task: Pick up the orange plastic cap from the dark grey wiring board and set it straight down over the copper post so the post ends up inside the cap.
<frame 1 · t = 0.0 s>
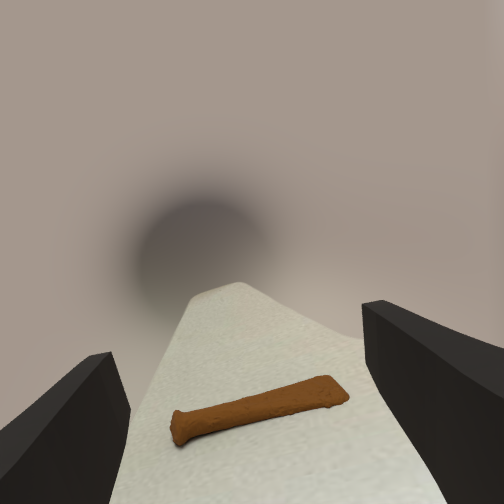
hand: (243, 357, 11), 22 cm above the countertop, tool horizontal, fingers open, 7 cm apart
primitive tool: (264, 414, 42), on the countertop
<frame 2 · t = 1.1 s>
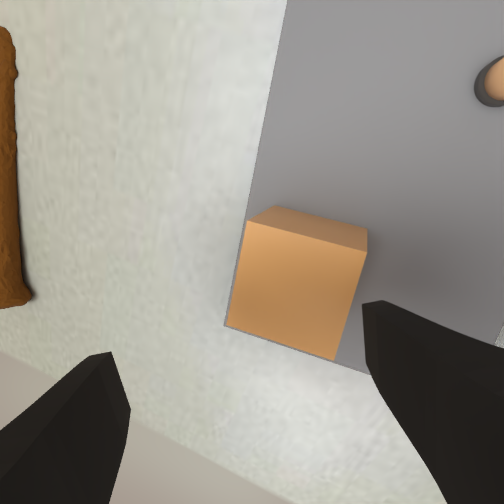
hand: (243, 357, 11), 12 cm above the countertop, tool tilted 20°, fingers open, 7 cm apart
primitive tool: (5, 172, 28), on the countertop
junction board: (390, 180, 20), on the countertop
wire cap: (308, 260, 21), point 1 cm above the countertop, touching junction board
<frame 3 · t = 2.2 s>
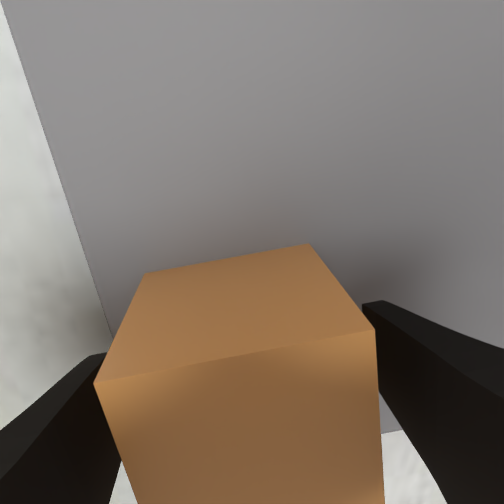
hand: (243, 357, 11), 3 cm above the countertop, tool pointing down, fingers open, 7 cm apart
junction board: (304, 152, 12), on the countertop
wire cap: (241, 329, 12), point 1 cm above the countertop, touching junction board
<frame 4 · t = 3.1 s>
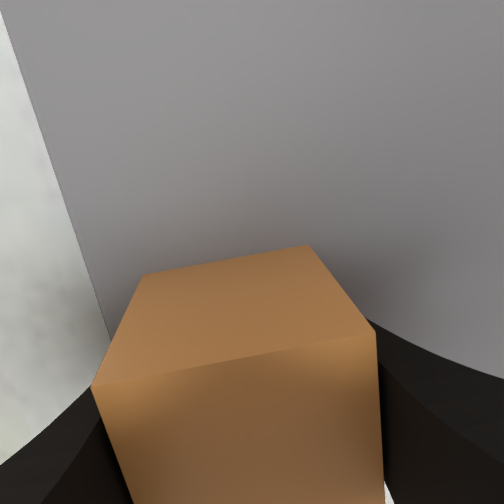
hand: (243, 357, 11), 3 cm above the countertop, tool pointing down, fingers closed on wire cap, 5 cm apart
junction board: (304, 152, 12), on the countertop
wire cap: (240, 331, 12), point 1 cm above the countertop, touching gripper, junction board
when the fingers open (4 cm above the countertop, at t = 7.6 s): wire cap stays where it is, resting on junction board.
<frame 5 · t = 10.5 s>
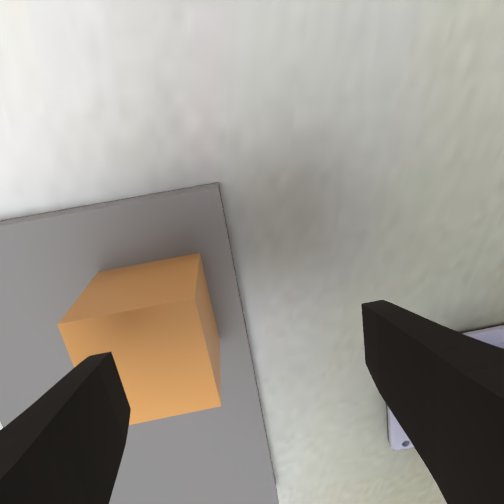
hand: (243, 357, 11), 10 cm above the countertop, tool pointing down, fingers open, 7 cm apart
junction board: (134, 380, 22), on the countertop
wire cap: (161, 307, 19), point 1 cm above the countertop, touching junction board
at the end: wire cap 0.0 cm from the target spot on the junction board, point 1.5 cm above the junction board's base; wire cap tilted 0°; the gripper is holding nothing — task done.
